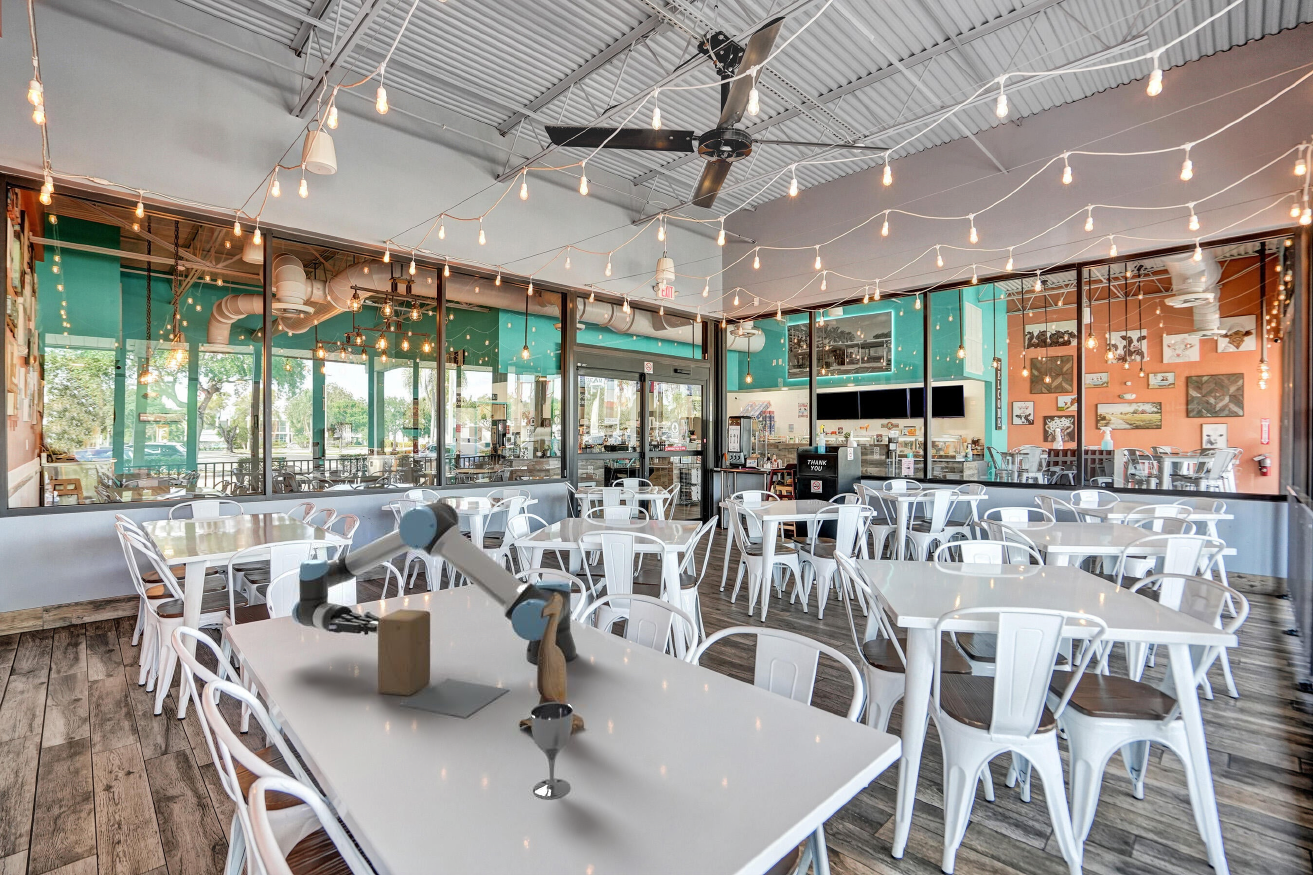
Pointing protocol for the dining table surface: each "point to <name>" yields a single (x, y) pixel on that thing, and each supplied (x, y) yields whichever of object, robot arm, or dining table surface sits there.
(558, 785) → the wine glass
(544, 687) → the bird sculpture
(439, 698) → the mat
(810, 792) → the dining table surface
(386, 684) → the wooden block
